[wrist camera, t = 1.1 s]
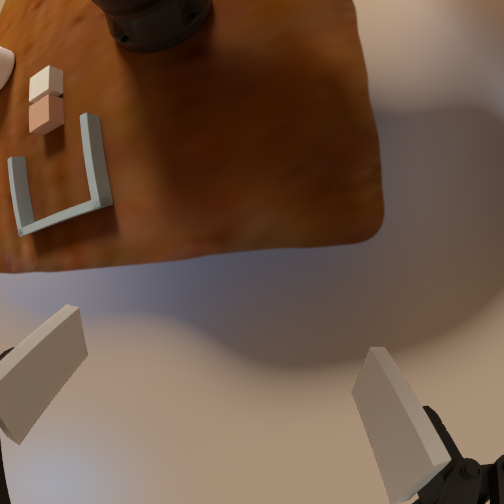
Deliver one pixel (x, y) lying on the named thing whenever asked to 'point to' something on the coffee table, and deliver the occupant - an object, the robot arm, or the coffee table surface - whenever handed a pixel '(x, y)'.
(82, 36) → the coffee table surface
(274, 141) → the coffee table surface
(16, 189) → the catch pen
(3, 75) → the cup
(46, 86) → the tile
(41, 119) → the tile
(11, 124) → the coffee table surface
